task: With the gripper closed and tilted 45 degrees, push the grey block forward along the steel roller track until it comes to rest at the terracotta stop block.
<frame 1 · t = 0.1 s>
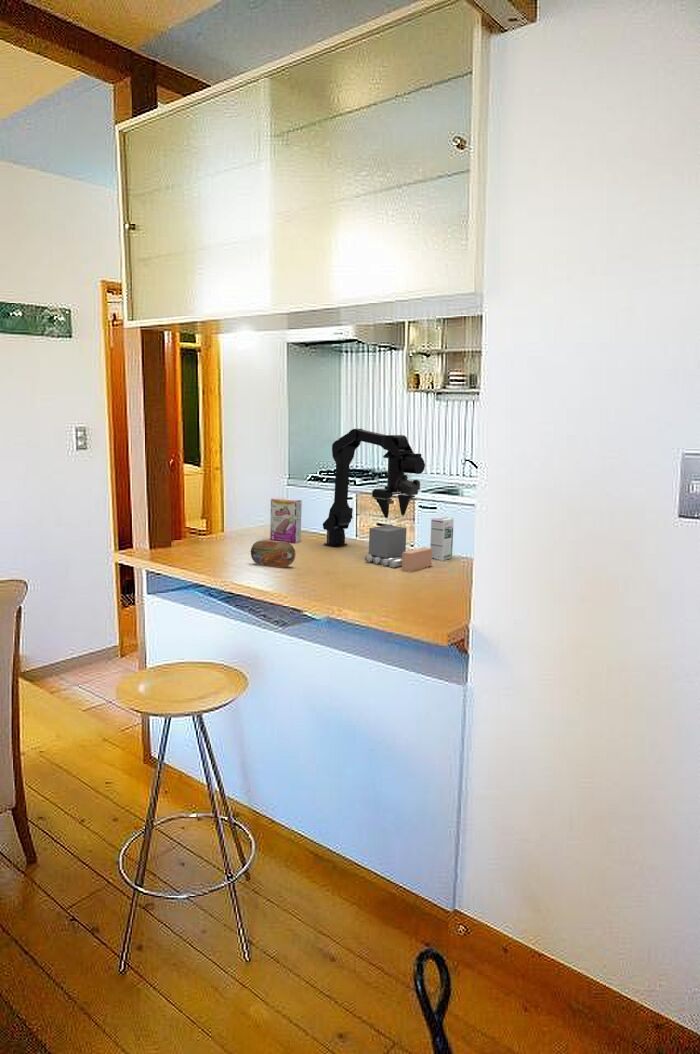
hand: (394, 516, 245), 15 cm above the table, tool pointing down, fingers open, 9 cm apart
tin: (273, 566, 231), on the table
grey block: (387, 541, 240), point 7 cm above the table, slide at 0.0 cm
candy bar box: (285, 541, 272), on the table
roller track: (391, 562, 240), on the table
stop block: (416, 568, 232), on the table
syrup box: (440, 558, 249), on the table
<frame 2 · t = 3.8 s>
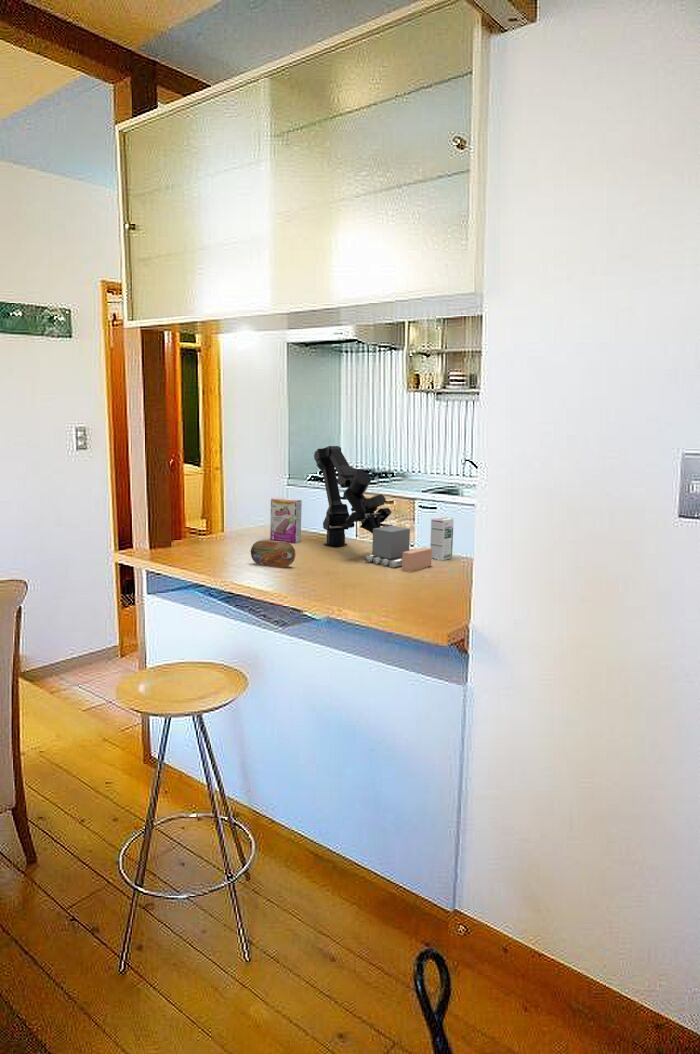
hand: (381, 536, 241), 8 cm above the table, tool tilted 45°, fingers closed, pressing on grey block
grey block: (391, 541, 239), point 7 cm above the table, slide at 1.5 cm, touching gripper
everything else where it was.
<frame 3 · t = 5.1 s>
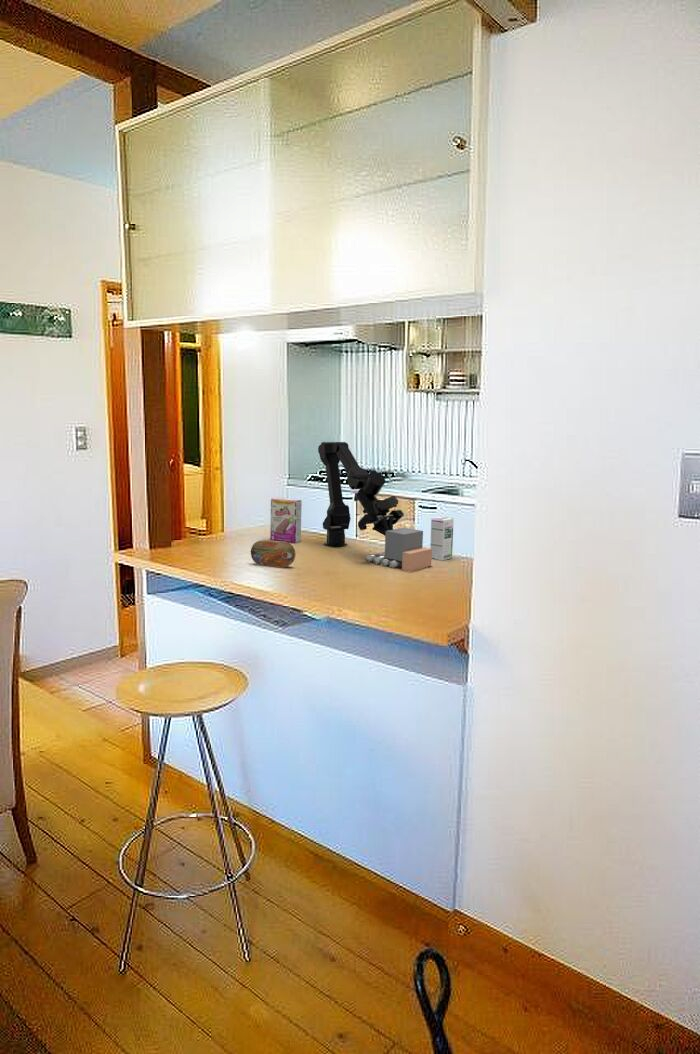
hand: (393, 539, 238), 8 cm above the table, tool tilted 45°, fingers closed, pressing on grey block
grey block: (403, 544, 235), point 7 cm above the table, slide at 7.0 cm, touching gripper
everything else where it was.
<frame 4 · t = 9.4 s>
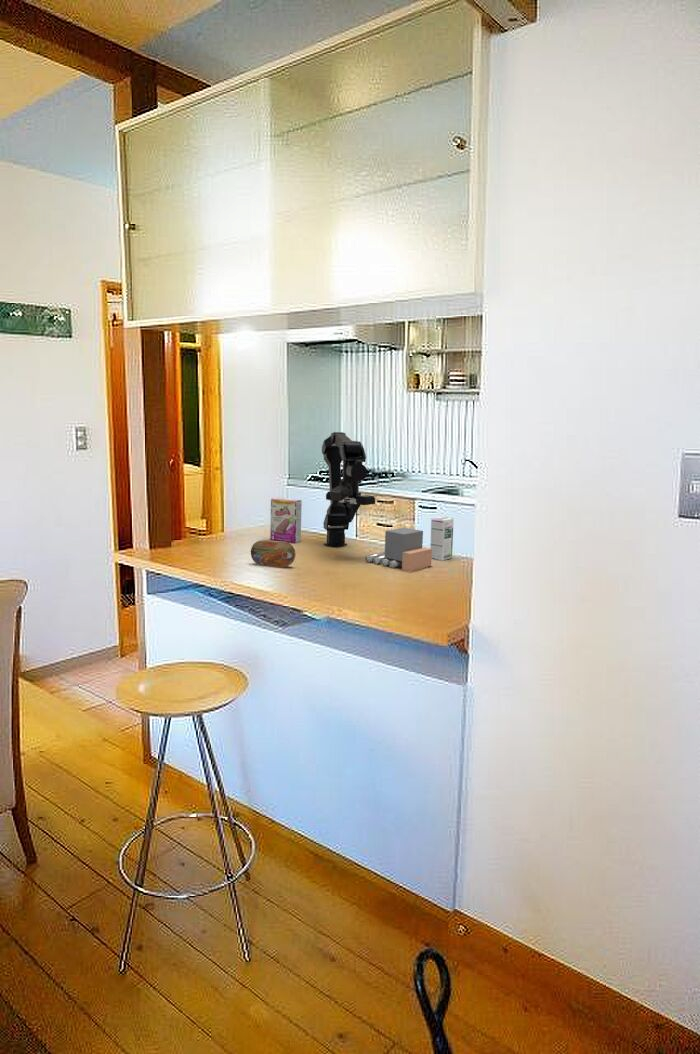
hand: (349, 522, 247), 12 cm above the table, tool pointing down, fingers closed
grey block: (403, 544, 235), point 7 cm above the table, slide at 7.0 cm
everything else where it was.
at the end: grey block slide at 7.0 cm; syrup box moved 0.2 cm from its start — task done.
